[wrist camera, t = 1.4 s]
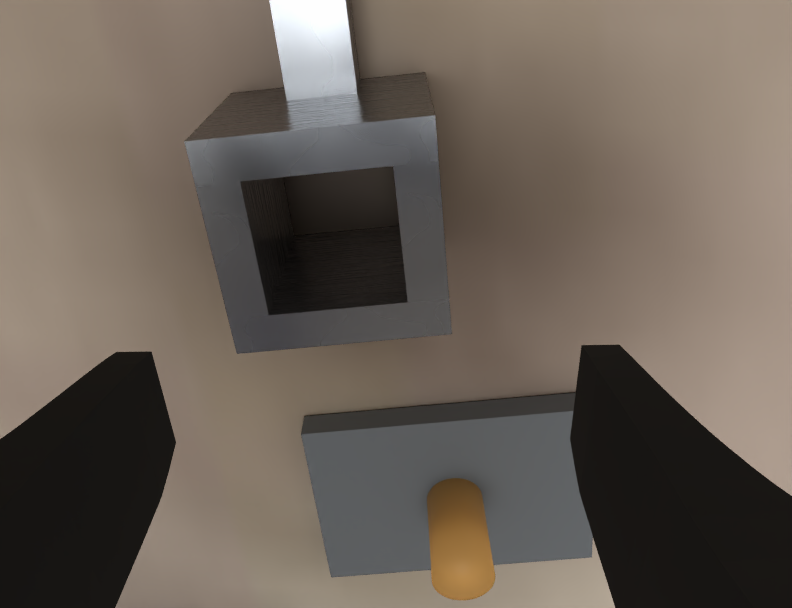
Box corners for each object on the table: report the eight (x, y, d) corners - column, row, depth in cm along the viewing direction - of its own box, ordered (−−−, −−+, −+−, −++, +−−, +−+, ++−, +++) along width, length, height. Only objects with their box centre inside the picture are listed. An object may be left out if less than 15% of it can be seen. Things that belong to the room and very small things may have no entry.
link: (267, 268, 22) (236, 353, 18) (197, -69, 18) (132, -69, 13) (439, 251, 22) (452, 334, 17) (411, -95, 17) (418, -103, 13)
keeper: (333, 556, 28) (323, 660, 24) (304, 416, 25) (287, 509, 21) (585, 537, 28) (618, 639, 24) (590, 391, 24) (629, 481, 20)
